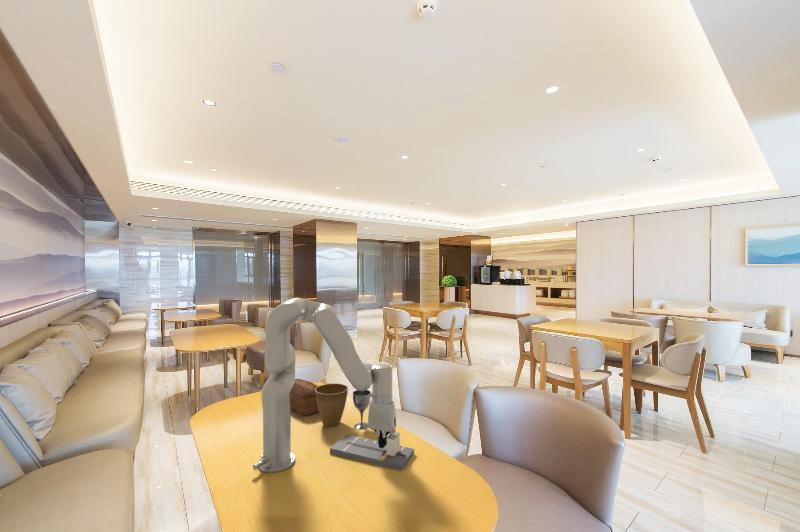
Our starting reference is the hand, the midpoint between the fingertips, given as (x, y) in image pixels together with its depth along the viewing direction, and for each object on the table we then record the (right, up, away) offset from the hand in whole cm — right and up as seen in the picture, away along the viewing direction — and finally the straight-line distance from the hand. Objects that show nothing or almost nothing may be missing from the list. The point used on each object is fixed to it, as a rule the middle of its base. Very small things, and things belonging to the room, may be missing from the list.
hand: (382, 446), depth 132 cm
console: (-4, -4, +2) cm, 6 cm away
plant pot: (-25, -4, +28) cm, 37 cm away
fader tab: (+4, -1, -2) cm, 5 cm away
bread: (-44, -4, +47) cm, 64 cm away
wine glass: (-11, -4, +25) cm, 28 cm away
